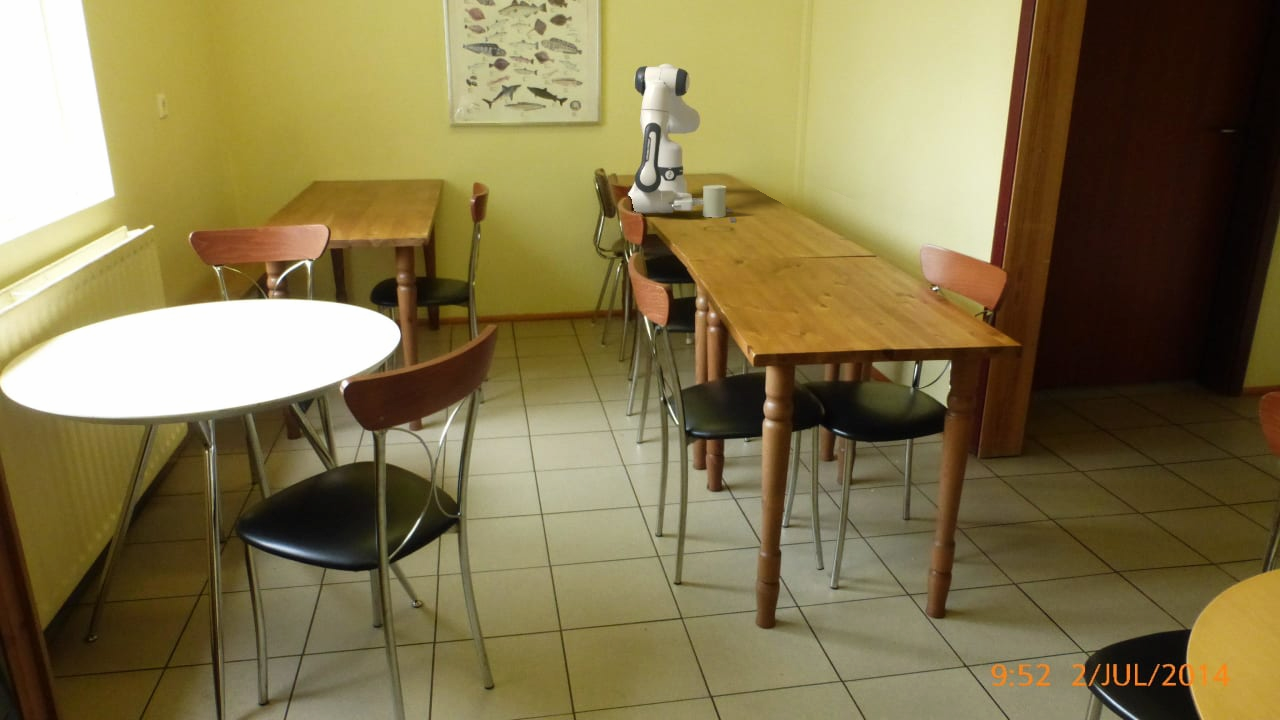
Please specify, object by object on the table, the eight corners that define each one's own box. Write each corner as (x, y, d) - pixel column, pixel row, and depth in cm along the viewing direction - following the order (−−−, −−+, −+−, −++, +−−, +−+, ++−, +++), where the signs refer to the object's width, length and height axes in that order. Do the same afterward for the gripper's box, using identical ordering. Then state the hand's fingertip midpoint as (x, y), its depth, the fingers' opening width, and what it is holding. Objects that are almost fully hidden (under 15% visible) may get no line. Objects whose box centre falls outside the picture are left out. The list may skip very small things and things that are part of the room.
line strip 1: (726, 209, 383) (726, 208, 383) (730, 209, 383) (730, 208, 383) (727, 212, 376) (727, 212, 376) (731, 212, 376) (731, 212, 376)
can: (715, 218, 363) (716, 187, 359) (697, 216, 369) (698, 185, 365) (730, 215, 370) (731, 185, 366) (712, 213, 376) (713, 183, 372)
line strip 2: (729, 218, 364) (729, 217, 363) (734, 218, 363) (734, 217, 363) (731, 222, 356) (731, 221, 356) (735, 222, 356) (735, 221, 356)
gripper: (669, 197, 358) (705, 198, 357) (668, 190, 377) (703, 190, 377) (668, 214, 360) (704, 214, 359) (668, 205, 379) (702, 205, 379)
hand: (703, 201), depth 368 cm, fingers closed
